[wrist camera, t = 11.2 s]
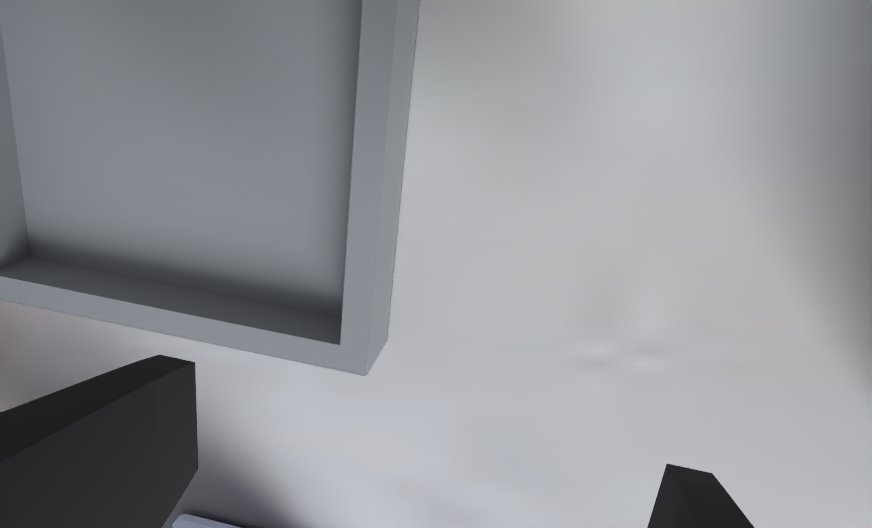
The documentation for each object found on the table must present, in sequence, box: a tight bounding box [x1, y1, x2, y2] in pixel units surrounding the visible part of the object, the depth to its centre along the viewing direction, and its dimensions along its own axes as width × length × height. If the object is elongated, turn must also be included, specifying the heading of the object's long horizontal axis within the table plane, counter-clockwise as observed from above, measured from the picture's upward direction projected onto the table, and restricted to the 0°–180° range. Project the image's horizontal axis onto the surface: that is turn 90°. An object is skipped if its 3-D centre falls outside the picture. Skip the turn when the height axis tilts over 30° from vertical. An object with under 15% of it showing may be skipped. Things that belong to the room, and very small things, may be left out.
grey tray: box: [0, 0, 420, 376], centre depth 18 cm, size 13×13×2 cm
